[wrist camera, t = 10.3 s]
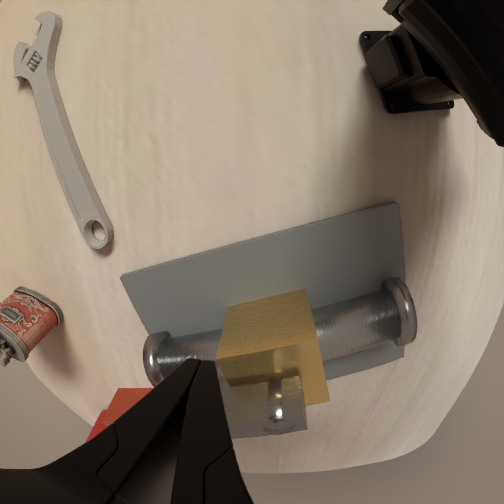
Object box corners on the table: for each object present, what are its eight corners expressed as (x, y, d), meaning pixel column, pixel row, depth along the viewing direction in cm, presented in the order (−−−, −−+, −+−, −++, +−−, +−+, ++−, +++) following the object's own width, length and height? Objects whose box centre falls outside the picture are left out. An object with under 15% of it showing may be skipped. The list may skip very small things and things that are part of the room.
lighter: (60, 301, 23) (2, 358, 14) (65, 327, 24) (15, 384, 15) (15, 281, 23) (-40, 324, 13) (20, 305, 24) (-29, 349, 15)
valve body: (389, 260, 20) (429, 303, 13) (392, 321, 21) (422, 371, 15) (154, 317, 23) (124, 368, 16) (181, 366, 24) (163, 419, 18)
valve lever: (298, 370, 15) (302, 414, 12) (304, 391, 16) (308, 434, 13) (118, 388, 17) (101, 420, 14) (133, 406, 18) (119, 438, 15)
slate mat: (394, 201, 18) (397, 203, 17) (401, 353, 23) (403, 356, 22) (122, 274, 21) (119, 277, 21) (191, 396, 26) (190, 400, 26)
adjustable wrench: (123, 236, 21) (113, 244, 19) (74, 257, 22) (63, 264, 20) (63, 6, 12) (52, 1, 11) (21, 44, 13) (10, 42, 12)
